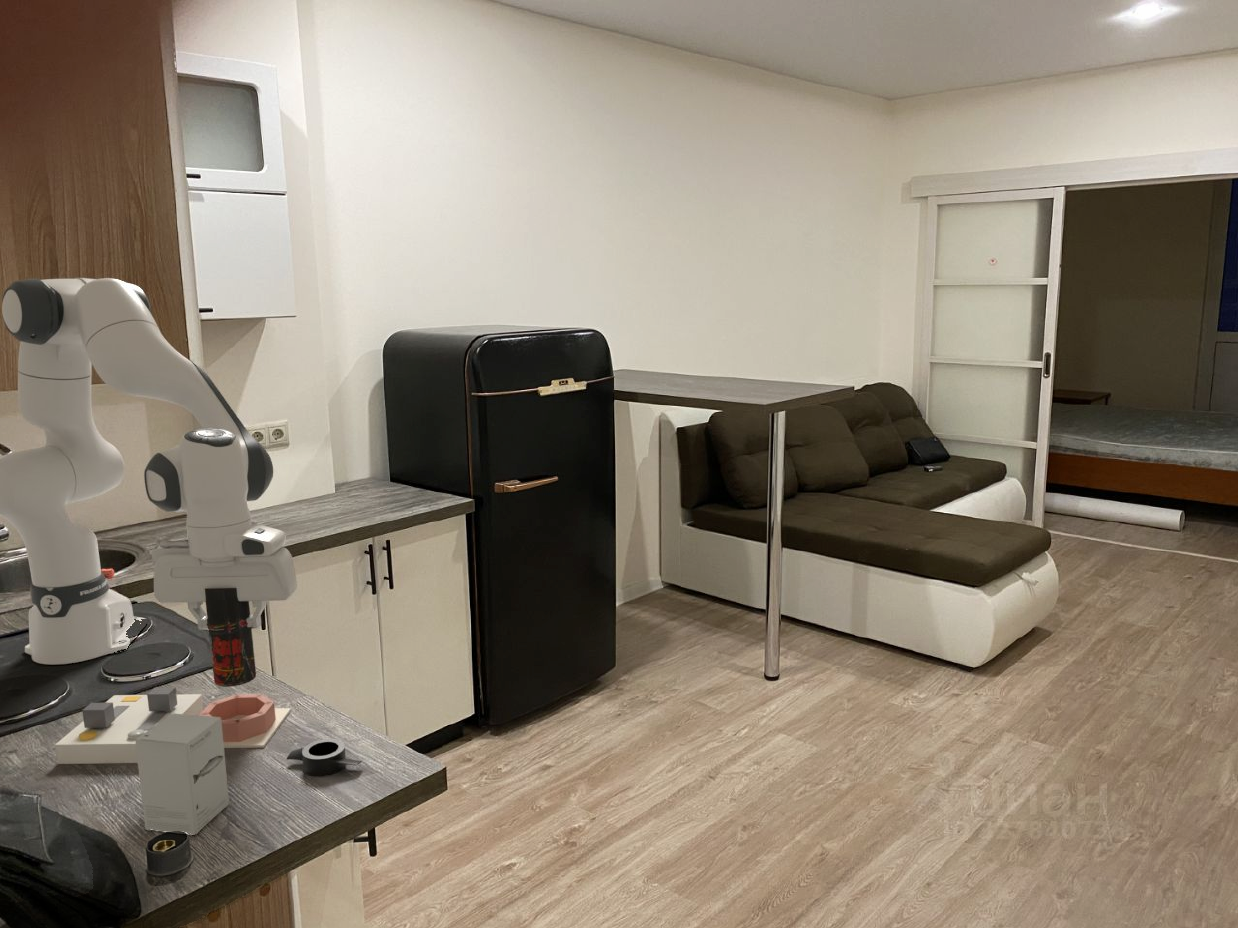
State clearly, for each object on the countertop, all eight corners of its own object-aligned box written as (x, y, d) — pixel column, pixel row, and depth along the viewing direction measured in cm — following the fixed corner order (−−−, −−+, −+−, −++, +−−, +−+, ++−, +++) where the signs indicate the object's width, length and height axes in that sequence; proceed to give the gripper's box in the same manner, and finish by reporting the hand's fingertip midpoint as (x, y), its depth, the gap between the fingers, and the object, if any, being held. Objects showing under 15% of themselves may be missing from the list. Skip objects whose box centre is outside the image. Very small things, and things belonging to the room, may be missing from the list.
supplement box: (195, 837, 114) (185, 743, 112) (143, 830, 116) (132, 738, 113) (231, 804, 121) (223, 715, 119) (182, 799, 123) (172, 711, 120)
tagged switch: (93, 720, 138) (91, 702, 137) (114, 719, 138) (112, 702, 137) (84, 727, 136) (82, 710, 135) (106, 727, 136) (104, 709, 135)
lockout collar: (216, 711, 148) (214, 691, 147) (291, 710, 148) (289, 690, 147) (182, 748, 136) (179, 727, 135) (263, 747, 136) (261, 726, 136)
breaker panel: (116, 712, 148) (113, 692, 147) (203, 711, 148) (201, 691, 147) (57, 763, 132) (54, 741, 131) (155, 762, 132) (152, 740, 131)
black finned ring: (314, 791, 125) (312, 771, 124) (283, 763, 132) (282, 745, 131) (366, 771, 130) (365, 752, 129) (334, 745, 137) (333, 727, 137)
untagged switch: (156, 704, 143) (154, 687, 142) (177, 704, 143) (175, 687, 142) (149, 711, 141) (147, 694, 140) (170, 711, 141) (168, 694, 140)
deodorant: (207, 679, 140) (196, 585, 137) (244, 667, 144) (234, 575, 142) (226, 690, 136) (215, 593, 133) (263, 676, 141) (254, 583, 138)
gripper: (139, 546, 133) (150, 637, 136) (281, 543, 133) (290, 634, 136) (160, 534, 139) (170, 621, 142) (296, 532, 139) (303, 619, 142)
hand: (230, 627), depth 139 cm, fingers closed on deodorant, 6 cm apart
